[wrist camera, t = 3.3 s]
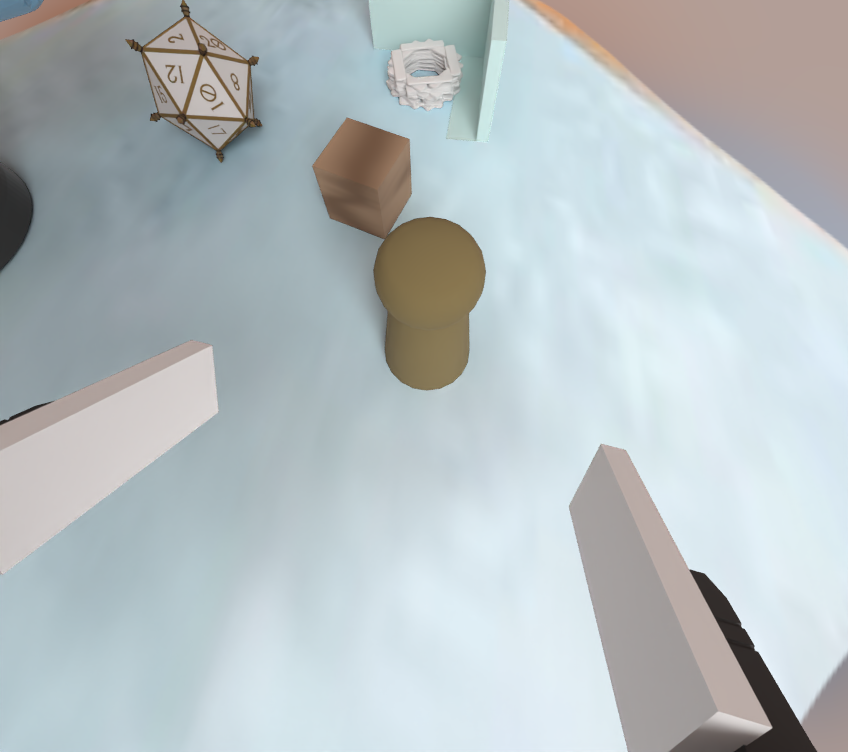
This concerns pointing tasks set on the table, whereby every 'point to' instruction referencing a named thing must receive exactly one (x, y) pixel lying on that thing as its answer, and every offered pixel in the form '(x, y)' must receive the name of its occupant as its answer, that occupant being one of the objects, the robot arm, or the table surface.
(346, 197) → the walnut block
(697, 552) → the table surface
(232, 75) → the game die
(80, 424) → the robot arm
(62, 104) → the table surface
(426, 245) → the cork
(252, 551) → the table surface
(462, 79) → the l-shaped corner panel
